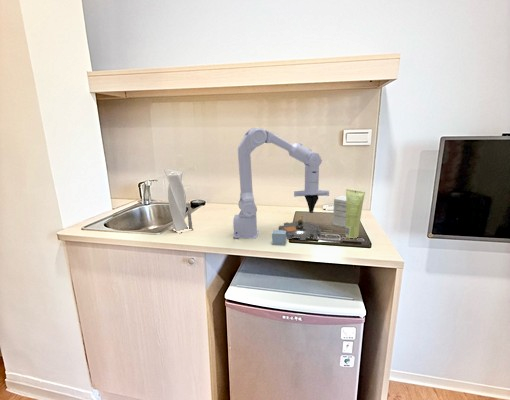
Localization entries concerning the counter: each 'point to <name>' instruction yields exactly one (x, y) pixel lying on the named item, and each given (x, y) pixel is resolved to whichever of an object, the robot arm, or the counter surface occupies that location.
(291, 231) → the sprocket
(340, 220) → the supplement box
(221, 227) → the counter surface
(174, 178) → the skyscraper
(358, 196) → the tube
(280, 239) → the link block
